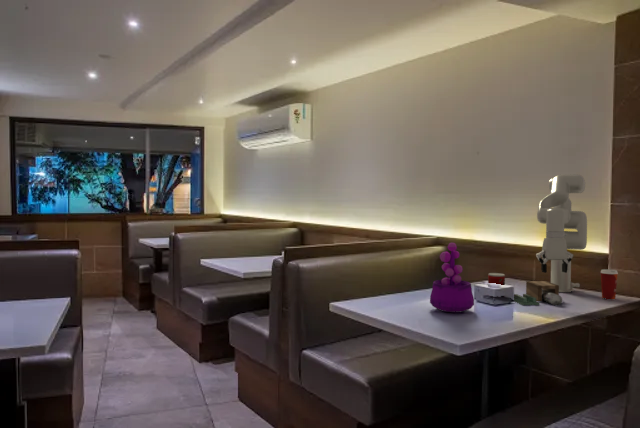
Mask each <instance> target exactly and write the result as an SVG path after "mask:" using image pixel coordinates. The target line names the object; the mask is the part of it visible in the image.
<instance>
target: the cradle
mask: <svg viewBox="0 0 640 428" xmlns="http://www.w3.org/2000/svg"><path fill="white" fill-rule="evenodd" d="M513 298H514V301H515V302H514V301H513V302H514V303H516V302H517V303H516V304H518V303H519V305H521V306H540V302H537V301H536V298H534V297H532V296H530V295H527V294H526V293H522V295H519V294H517V293H513Z"/></svg>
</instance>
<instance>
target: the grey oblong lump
mask: <svg viewBox="0 0 640 428" xmlns="http://www.w3.org/2000/svg"><path fill="white" fill-rule="evenodd" d="M542 301H543V302H545V301H546V302H545V303H548V304H550V305H553V306H555V305H556V306H561V304H562V303H563V298H562V296H561V295H557V294H554V293H551V292H548V291H546V290H543V289H542Z"/></svg>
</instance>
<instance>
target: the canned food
mask: <svg viewBox="0 0 640 428" xmlns="http://www.w3.org/2000/svg"><path fill="white" fill-rule="evenodd" d="M488 283H496V284H501V285H505V286H506V284H505V283H506V275H505V274H504V273H498V272H489V273H488V275H487V284H488Z"/></svg>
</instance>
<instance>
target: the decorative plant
mask: <svg viewBox="0 0 640 428" xmlns="http://www.w3.org/2000/svg"><path fill="white" fill-rule="evenodd" d="M457 248H458V247H457V244H456V243H455V242H449V243H448V245H447V249H448V251H442V252H441V253H440V254H439V260H440V261H441V262H444V263H443V264H442V265H441V269H442V271H443V272H444V274H445V277H443V278H441V279H437V280H434V281H433V282H432V289H431V292H430V297H429V304H430V305H431V306H432V307H434V308H435V309H438V310H439V311H442V312H447V313H462V312H465V311H469V310H471V309H472V308H473V306H474V305H475V297H474V294H473V289H472V283H471V282H469V281H466V280H462V276H461V275H460V274H461V273H462V272H463V270H464V269H463V266H462V265H460V264H455V263H456V262H455V259H458V258H460V252H459V251H457ZM449 251H450V252H449Z"/></svg>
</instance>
